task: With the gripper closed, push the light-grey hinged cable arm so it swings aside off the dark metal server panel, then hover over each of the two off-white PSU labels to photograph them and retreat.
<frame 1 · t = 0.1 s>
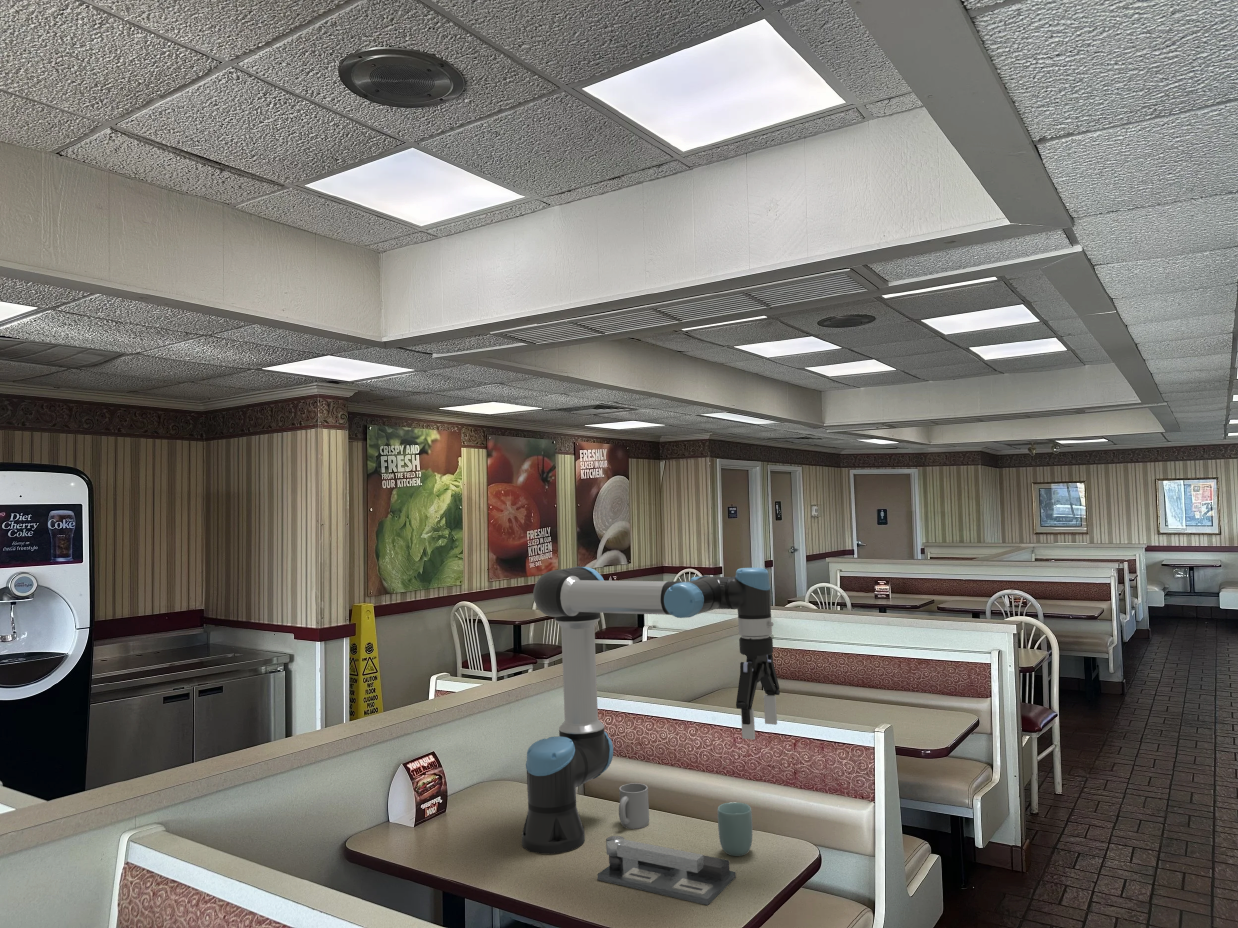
hand: (760, 731, 189), 28 cm above the table, fingers open, 13 cm apart
cup: (736, 853, 191), on the table
cup 2: (632, 826, 210), on the table
panel: (666, 878, 179), on the table
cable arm: (652, 853, 178), point 6 cm above the table, hinge at 0.0°
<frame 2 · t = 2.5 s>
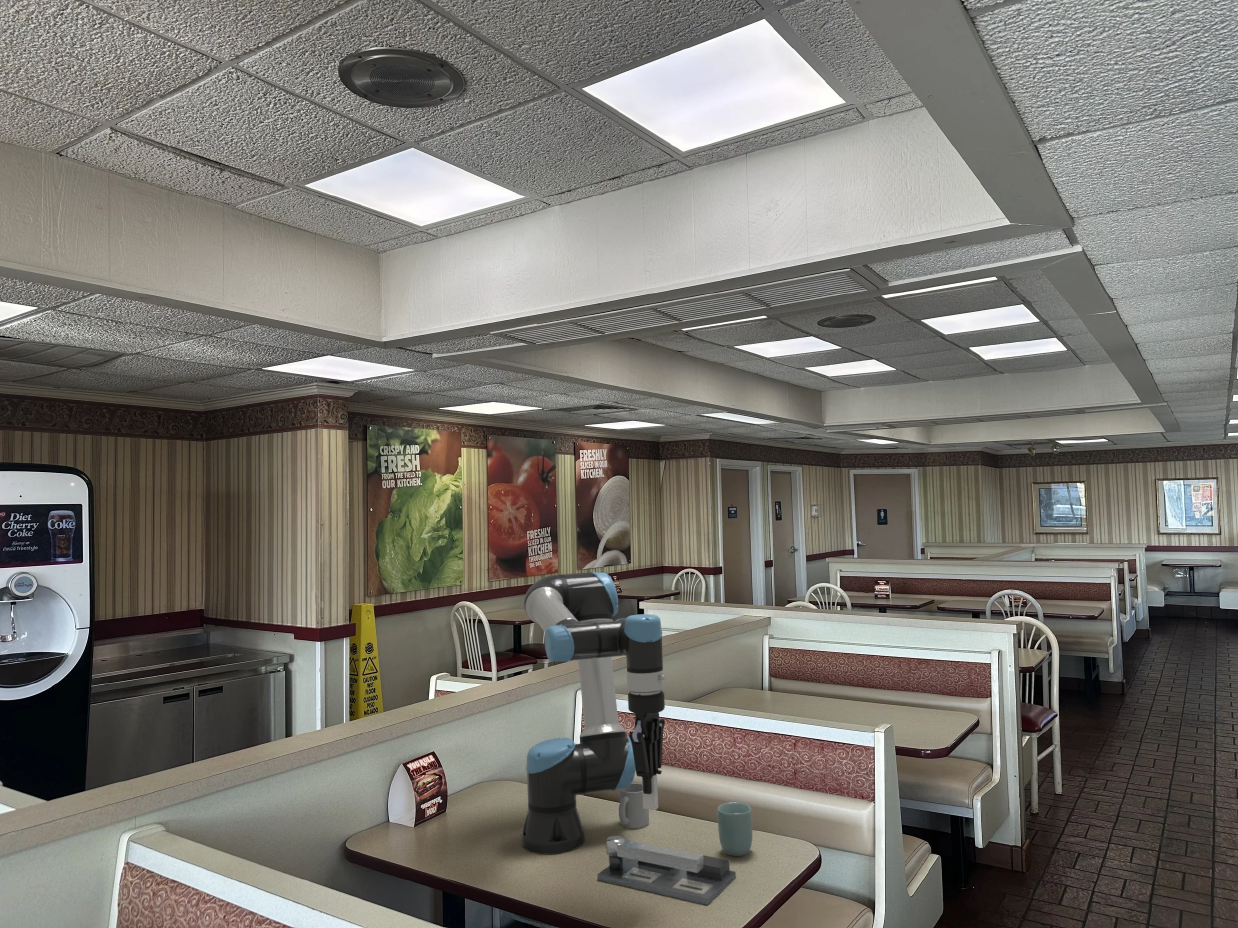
hand: (650, 807, 171), 18 cm above the table, fingers closed
nothing on the table moved.
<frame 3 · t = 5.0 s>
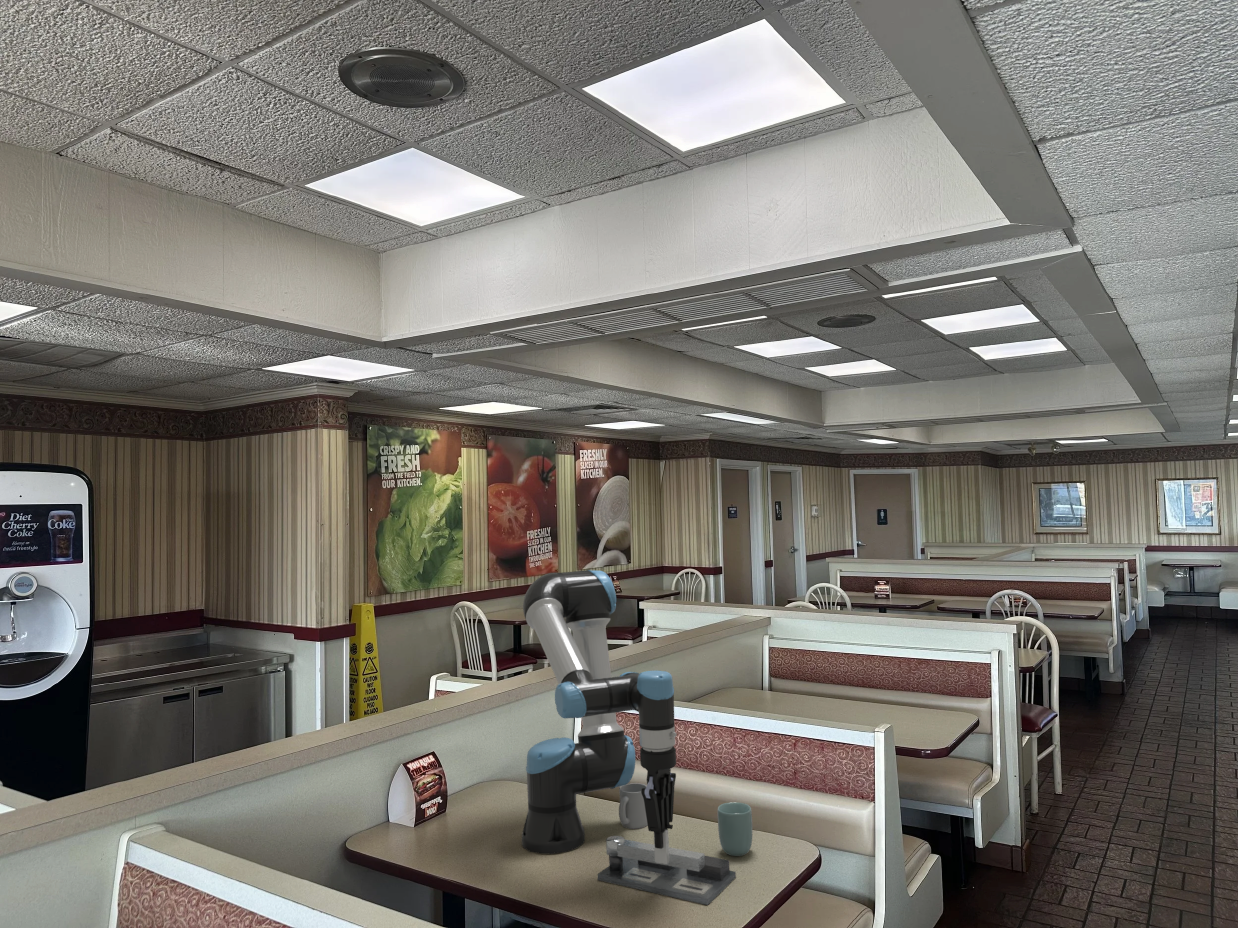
hand: (662, 861, 174), 5 cm above the table, fingers closed
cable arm: (653, 852, 178), point 6 cm above the table, hinge at 2.0°, touching gripper
everything else where it was.
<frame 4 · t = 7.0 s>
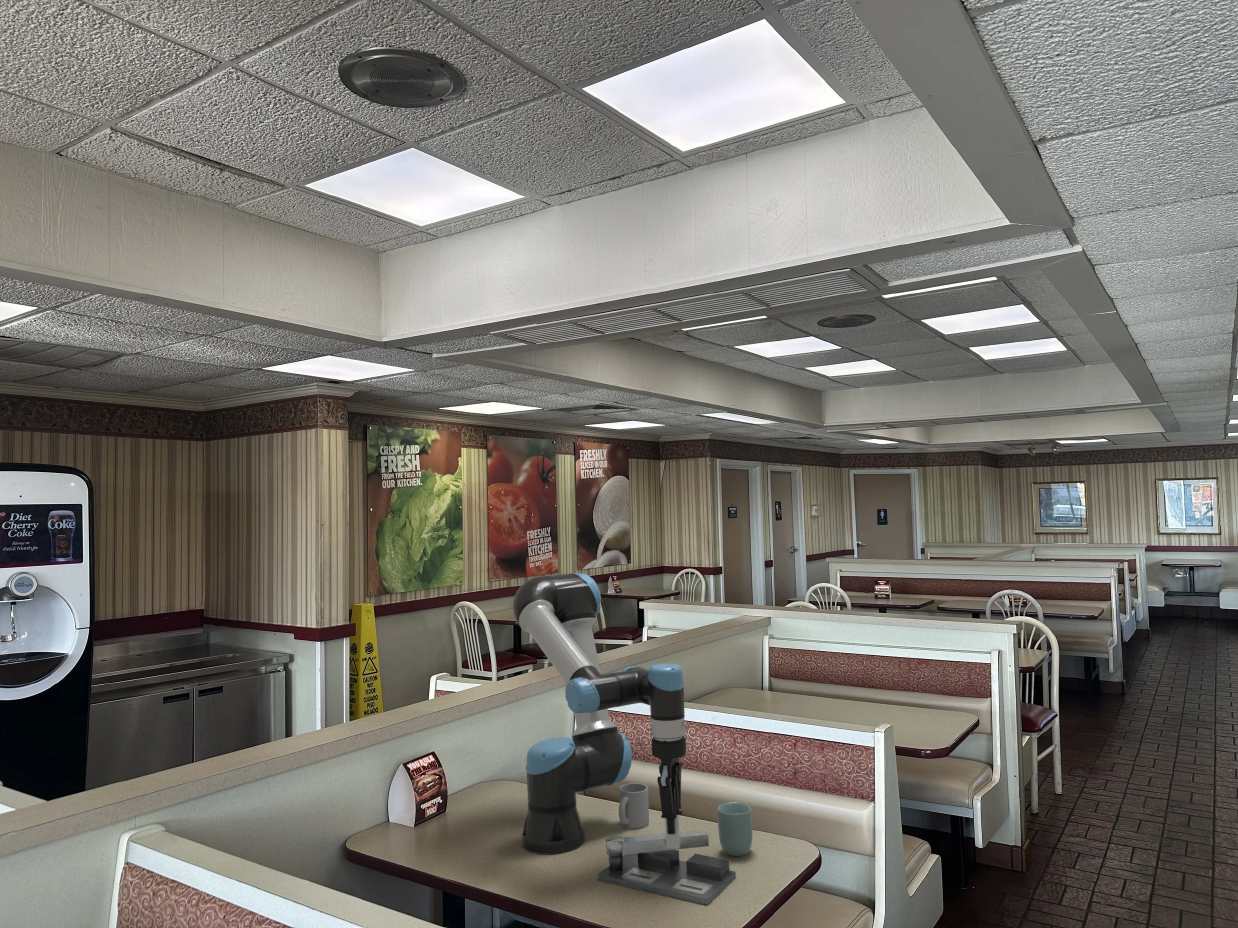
hand: (673, 847, 182), 5 cm above the table, fingers closed
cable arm: (657, 841, 184), point 6 cm above the table, hinge at 39.2°, touching gripper
everything else where it was.
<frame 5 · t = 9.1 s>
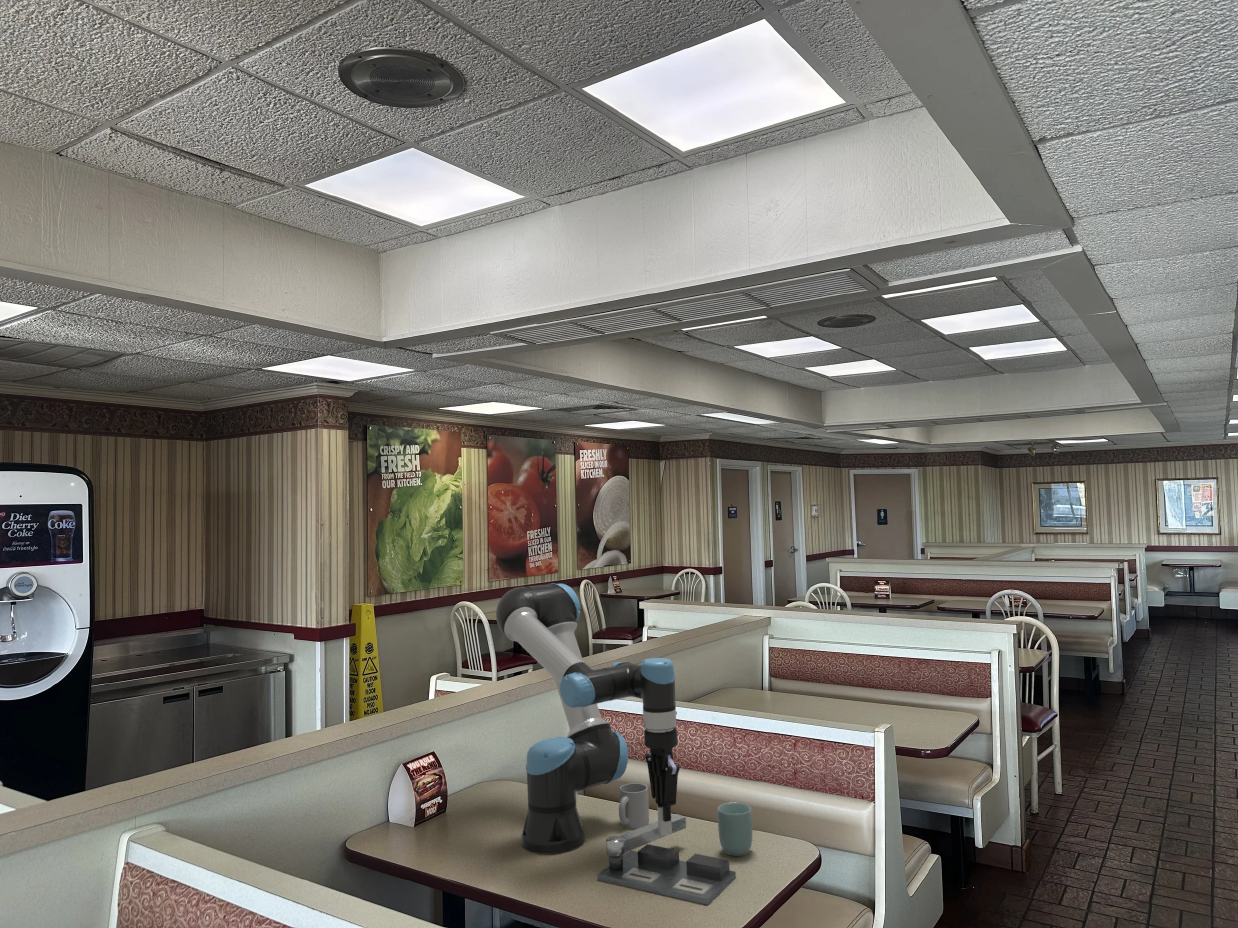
hand: (665, 833, 189), 6 cm above the table, fingers closed
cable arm: (646, 833, 189), point 6 cm above the table, hinge at 72.6°, touching gripper
everything else where it was.
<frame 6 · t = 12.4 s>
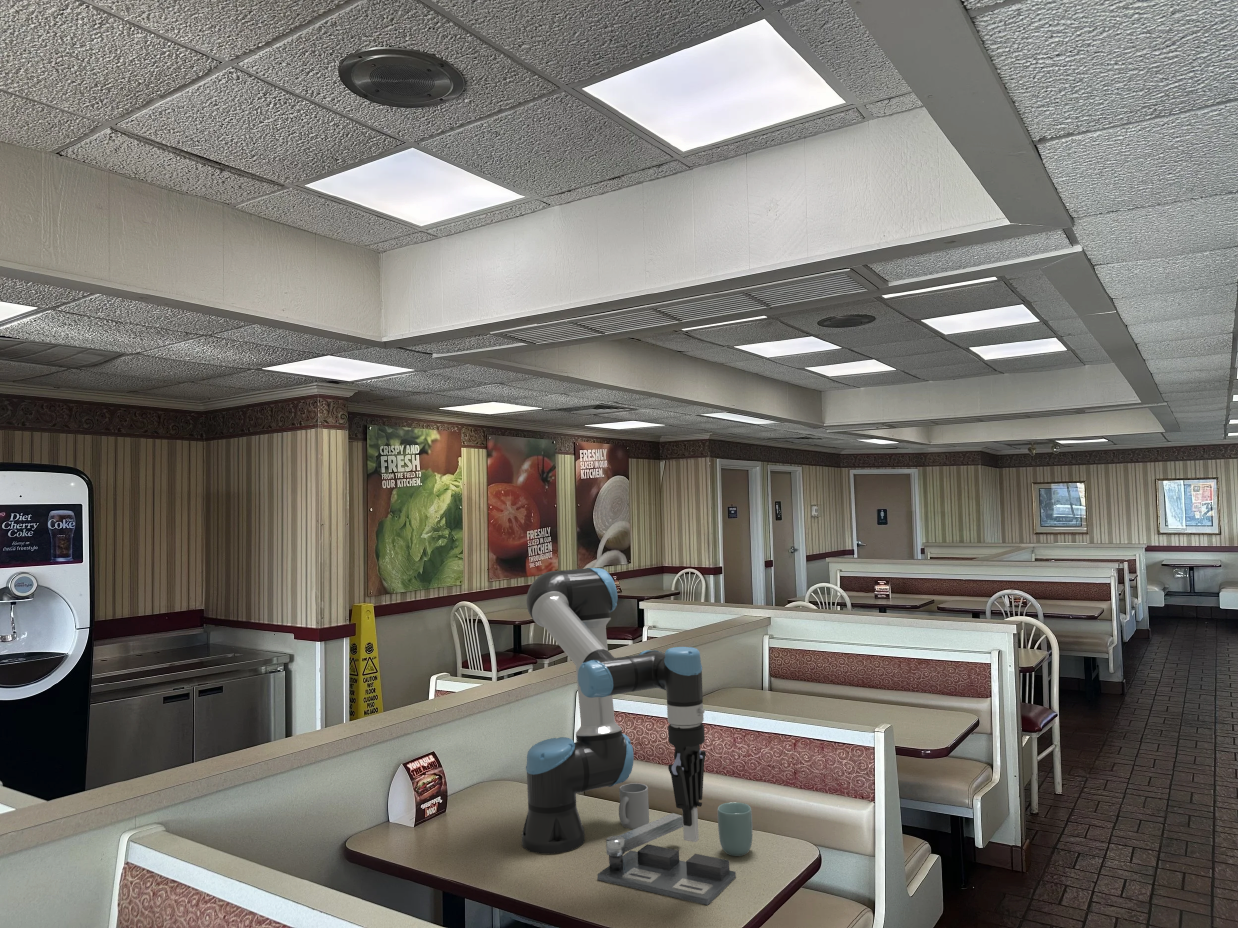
hand: (691, 839, 172), 11 cm above the table, fingers closed
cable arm: (644, 833, 189), point 6 cm above the table, hinge at 75.3°
everything else where it was.
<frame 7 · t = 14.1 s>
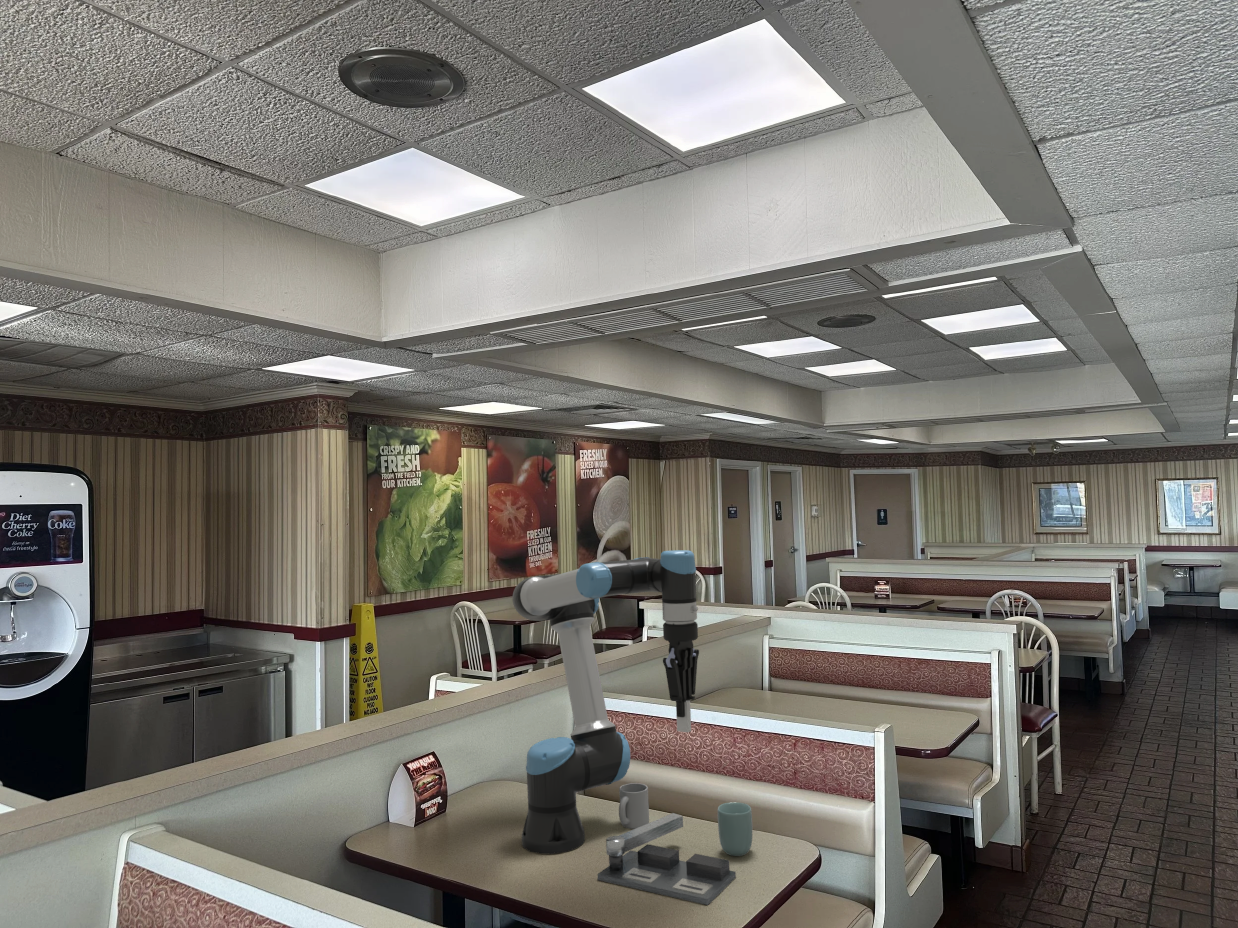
hand: (684, 730, 181), 31 cm above the table, fingers closed
nothing on the table moved.
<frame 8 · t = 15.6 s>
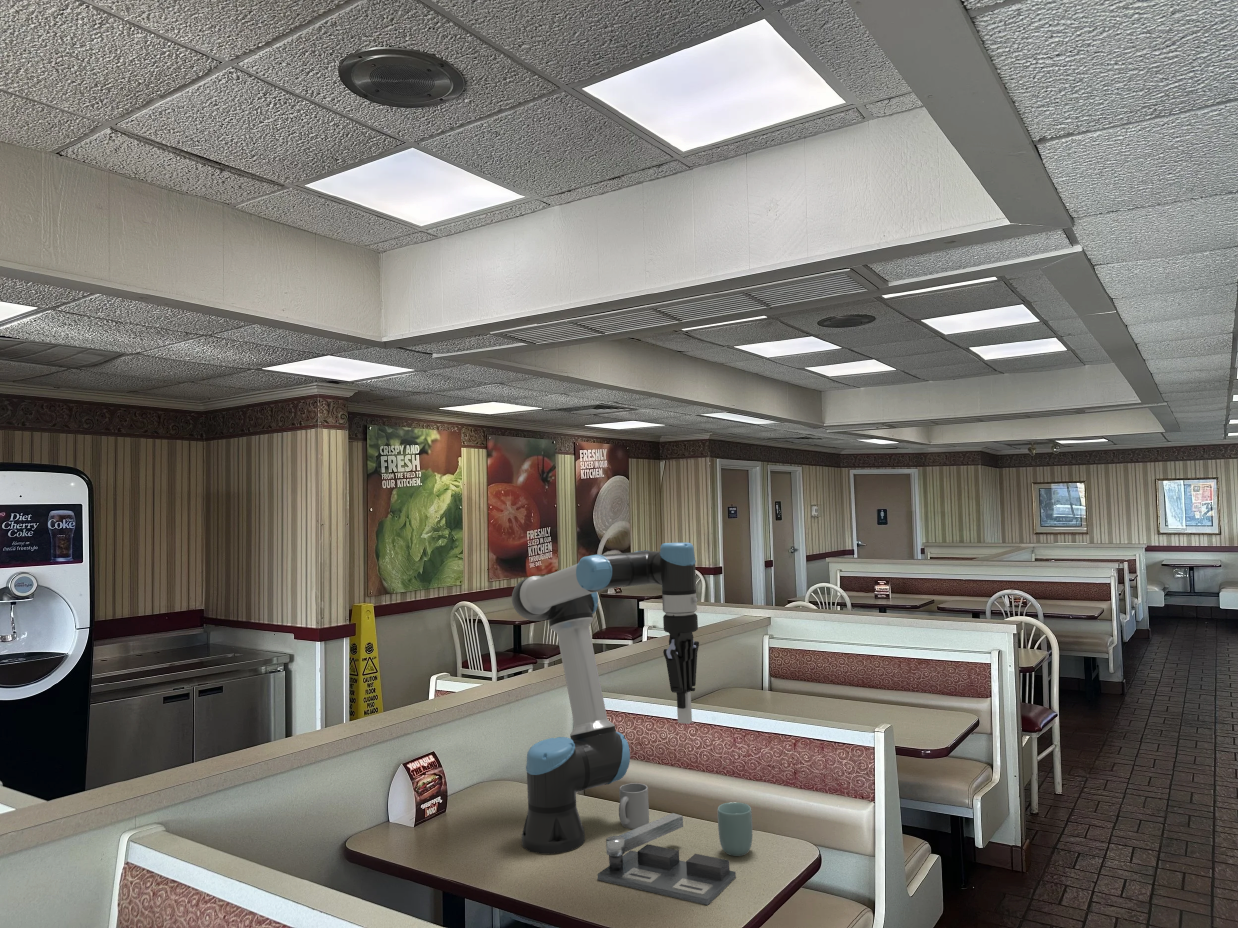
hand: (684, 722, 182), 32 cm above the table, fingers closed
nothing on the table moved.
at the end: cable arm at +75° (first picture: +0°) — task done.
